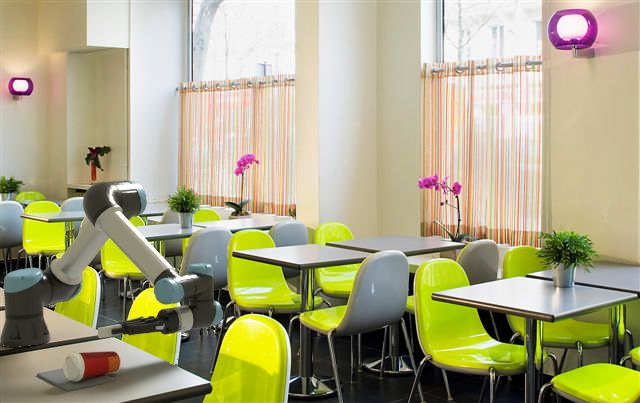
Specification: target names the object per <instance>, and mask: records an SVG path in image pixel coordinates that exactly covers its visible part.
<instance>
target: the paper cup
mask: <svg viewBox="0 0 640 403" xmlns="http://www.w3.org/2000/svg"><path fill="white" fill-rule="evenodd" d="M120 357H121V356H120V355H119V354H118V353H117V352H116V351H111V350H110V351H91V352H90V351H89V352H88V351H87V352H78V351H72V352H71V353H69V354H68V355H67V356H66V357H65V358H64V360H63V365H62V368H63V370H64V374H65V376H66V377H67V378H68V379H69V380H72V381H75V382H76V381H80V380H81V379H85V378H89V377H94V376H99V375H103V374H105V375H108V374H110V373H111V374H112V373H115V372H117V371H118V370H119V369H120V366H121V358H120Z"/></svg>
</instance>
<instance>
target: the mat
mask: <svg viewBox="0 0 640 403" xmlns="http://www.w3.org/2000/svg"><path fill="white" fill-rule="evenodd" d="M36 376H37V377H39V378H41V379H42V380H45V381H47V382H49V383H51V384H53V385H54V386H57V387H58V388H60V389H63V390H64V391H66V392H71V391H75V390H80V389H85V388H89V387H93V386H98V385H102V384H107V383H111V382H112V383H113V382H115V380H116V379H115V378H114V377H111V376H109V375H108V374H103V375H99V376H94V377H89V378H85V379H81V380H80V381H76V382H75V381H72V380H69V379H68V378H67V377H66V376H65V374H64V370H63V367H62V368H58V369H57V368H56V369H53V370H48V371H42V372H38V373H37V372H36Z"/></svg>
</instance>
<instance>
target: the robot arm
mask: <svg viewBox="0 0 640 403" xmlns="http://www.w3.org/2000/svg"><path fill="white" fill-rule="evenodd" d="M146 193H147V192H146V191H145V189H144V187H143V186H142V185H141V184H140V183H139V182H137V181H134V180H129V179H123V180H114V181H99V182H95V183H94V184H91V185H90V186H89V188H87V190H86V191H85V193H84V195H83V199H82V208H83V212H84V214H85V216H86V218H87V219H88V222H87V223H86V224H85V225H84V227H83V228H82V229H81V230H80V232H79V233H78V234H77V235H76V237H75V238H74V240H73V241H72V243H70V245H68V247H67V249H66V251H65V252H64V253H63V255H62V256H61V257H58V258H55V259H53V260H52V261H51V263H50V264H49V265H48V266H47V268H46V269H43V270H42V269H41V268H38V267H37V268H36V267H28V268H27V267H26V268H24V269H23V268H20V269H17V270H14V271H10V272H9V273H7V274H6V275H5V276H4V280H3V281H4V282H3V292H4V293H3V295H4V298H3V300H4V314H5V315H4V317H5V318H4V319H5V320H4V325H3V327H2V330H1V334H0V344H1V345H4V346H9V347H8V348H13V347H17V348H20V347H19V346H29V345H36V346H39V345H38V344H41V345H44V344H47V343H49V342H50V341H51V333H50V331H49V328H48V325H47V323H46V320H45V316H44V307H46V306H49V305H53V304H54V305H55V304H58V303H65V302H69V301H70V300H73V299H75V298H76V297H77V296H78V295H79V294H80V292H81V291H82V290H83V289H82V288H83V284H82V283H83V282H84V281H83V279H84V274H83V272H85V270H86V268H88V266H89V265H90V264H91V262H92V261H93V260H94V258H95V257H96V256H97V254H98V253H99V252H100V251H101V249H102V248H103V246H105V244H106V243H107V242H108V240H109V239H110V240H111V241H112V242H113V244H115V246H116V247H117V248H119V250H120V251H121V252H122V253H123V254H124V255H125V256H126V258H127V259H129V260H130V262H131V263H132V264H133V265H134V266H135V267H136V268H137V269H138V270H139V272H140V273H141V274H142V275H143V276H144V277H145V278H146V279H147V280H148V281H149V282H150V283H151V284H152V286H153V294H154V297H155V299H156V301H157V302H158V303H159V304H162V305H165V306H166V305H175V304H178V303H180V302H183V301H186V300H188V302H189V304H187V305H185V304H184V305H179V306H174V307H168V308H162V309H160V310H159V311H157V315H156V316H155V315H149V316H147V317H145V316H139V317H136V318H133V319H132V318H131V319H129V320H127V319H126V320H123V321H119V322H117V324H112V325H107V326H106V325H105V326H102V327H100V326H99V327H97V338H99V339H104V338H109V337H110V338H111V337H116V336H123V335H124V336H125V335H128V336H134V335H136V336H137V335H141V334H142V335H143V334H151V333H160V334H162V335H165V336H167V335H170V334H171V335H173V334H175V333H181V334H185V332H186V331H187V332H188V331H192V330H198V329H199V330H200V329H204V328H210V327H214V326H218V325H219V324H220V323H221V322H222V320H223V316H224V313H223V312H224V310H222V306H221V304H220V302H219V301H217V300H215V297H214V296H215V295H214V294H215V292H214V290H215V285H214V284H215V283H214V282H215V281H214V280H215V279H214V278H215V276H214V268H213V265H212V264H210V263H201V262H200V263H192V264H189V265H188V268H187V269H188V271H187V272H186V273H183V274H179V272H178V271H177V270H176V269H174V267H173V266H171V264H170V263H169V262H168V261H167V260H166V259H165V258H164V257H163V256H162V254H161V253H159V251H157V250H156V248H155V247H154V246H153V245H152V244H151V243H150V242H149V241H148V239H147V238H146V237H144V236H143V234H142V233H141V232H140V231H139V230H138V229H137V228H136V227H135V225H134V224H132V222H130V220H131V219H132V218H133V217H135V218H136V217H138V216H140V215H142V214H143V213H144V212H145V211H146V208H147V204H148V200H147V194H146ZM48 341H49V342H48ZM46 342H47V343H46ZM43 343H44V344H43ZM1 345H0V346H1ZM4 346H3V347H4Z"/></svg>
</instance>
